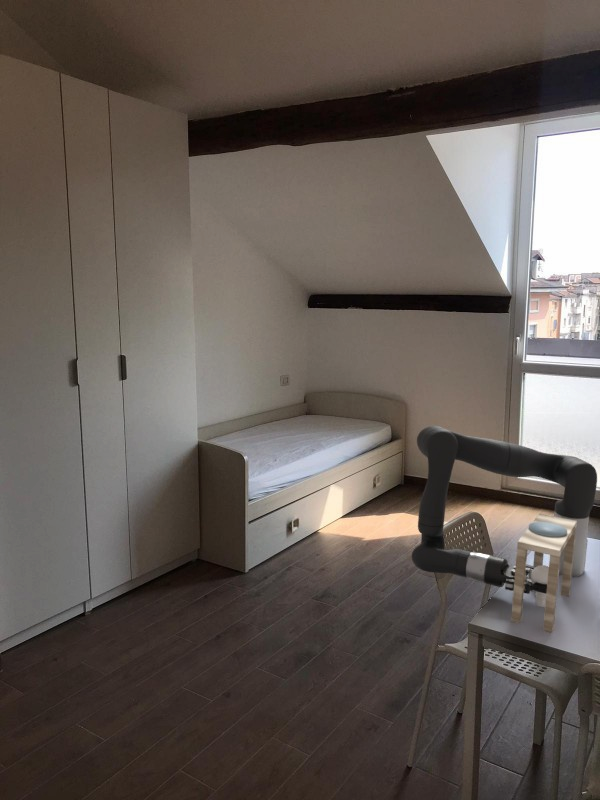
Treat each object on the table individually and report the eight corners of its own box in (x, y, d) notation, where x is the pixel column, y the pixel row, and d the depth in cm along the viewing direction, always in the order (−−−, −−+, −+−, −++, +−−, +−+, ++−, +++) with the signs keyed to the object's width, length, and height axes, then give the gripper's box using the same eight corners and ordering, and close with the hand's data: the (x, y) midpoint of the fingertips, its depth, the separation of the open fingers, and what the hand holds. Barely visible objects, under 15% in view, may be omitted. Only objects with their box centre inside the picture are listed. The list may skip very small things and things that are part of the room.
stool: (533, 584, 178) (539, 511, 175) (569, 593, 173) (577, 518, 170) (510, 621, 158) (517, 539, 155) (551, 632, 153) (559, 548, 150)
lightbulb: (524, 606, 166) (527, 566, 164) (534, 598, 170) (537, 559, 168) (547, 615, 162) (551, 574, 160) (557, 606, 166) (561, 566, 164)
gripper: (479, 565, 165) (548, 581, 157) (495, 546, 178) (560, 561, 169) (477, 592, 167) (546, 610, 158) (493, 572, 179) (557, 588, 170)
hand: (553, 585), depth 163 cm, fingers closed on lightbulb, 5 cm apart
